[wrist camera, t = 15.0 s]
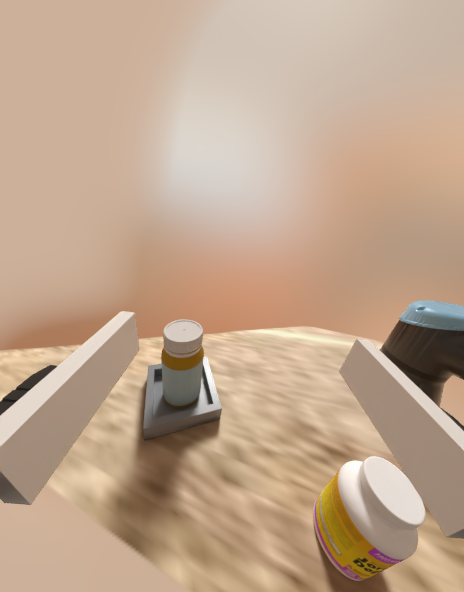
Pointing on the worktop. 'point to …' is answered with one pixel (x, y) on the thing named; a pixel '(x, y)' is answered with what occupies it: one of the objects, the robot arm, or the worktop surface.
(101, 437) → the worktop surface
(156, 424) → the tray
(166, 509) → the worktop surface
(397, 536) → the supplement bottle
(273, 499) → the worktop surface
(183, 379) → the bottle
